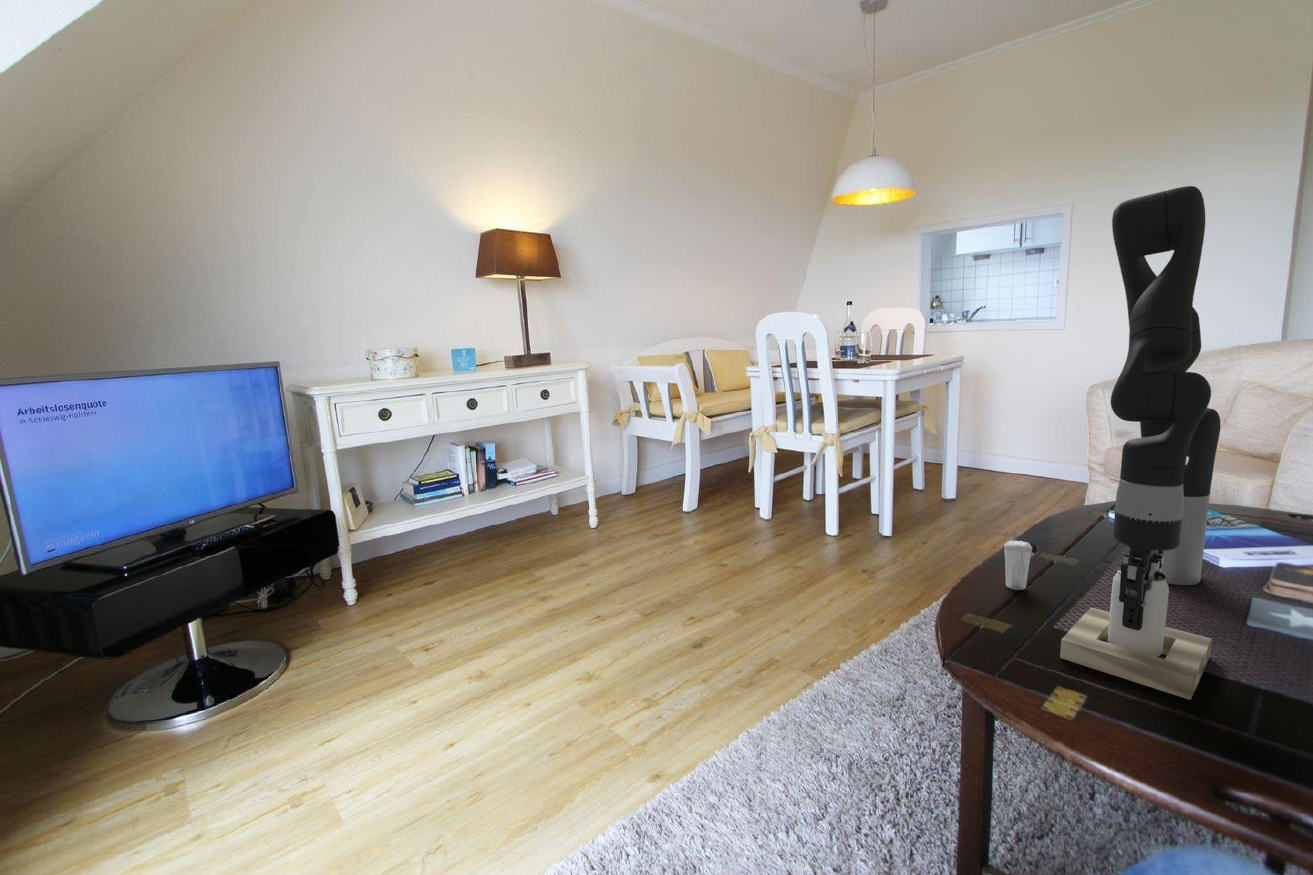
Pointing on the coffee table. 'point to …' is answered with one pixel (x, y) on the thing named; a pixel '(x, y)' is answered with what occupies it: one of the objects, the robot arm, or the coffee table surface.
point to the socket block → (1138, 655)
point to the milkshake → (1017, 563)
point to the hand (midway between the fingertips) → (1137, 619)
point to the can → (1153, 618)
